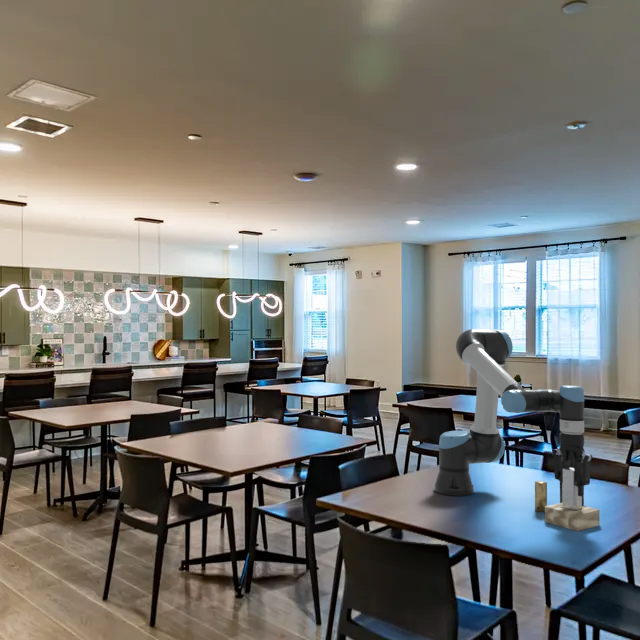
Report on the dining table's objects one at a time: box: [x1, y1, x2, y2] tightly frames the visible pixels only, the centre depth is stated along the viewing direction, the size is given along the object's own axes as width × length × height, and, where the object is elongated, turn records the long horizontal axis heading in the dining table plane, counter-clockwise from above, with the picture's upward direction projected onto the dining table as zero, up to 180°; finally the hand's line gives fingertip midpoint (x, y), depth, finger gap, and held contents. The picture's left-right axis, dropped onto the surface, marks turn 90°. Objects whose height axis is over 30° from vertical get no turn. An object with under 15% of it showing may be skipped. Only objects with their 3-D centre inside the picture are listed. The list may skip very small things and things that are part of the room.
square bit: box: [563, 468, 581, 511], centre depth 203 cm, size 4×4×14 cm
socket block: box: [544, 502, 601, 532], centre depth 203 cm, size 12×12×5 cm
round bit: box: [534, 480, 548, 513], centre depth 218 cm, size 4×4×10 cm
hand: (571, 503), depth 203 cm, fingers closed on square bit, 4 cm apart
